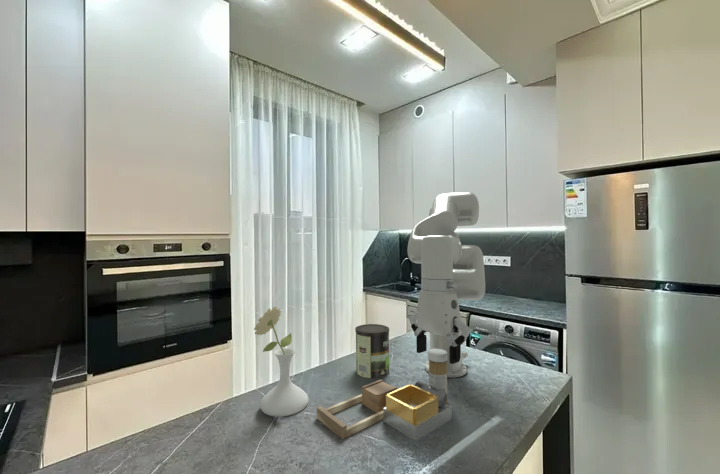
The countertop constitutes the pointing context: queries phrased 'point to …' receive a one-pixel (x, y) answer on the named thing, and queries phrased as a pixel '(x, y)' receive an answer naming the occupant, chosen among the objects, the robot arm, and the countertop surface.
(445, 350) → the robot arm
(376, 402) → the tan cardboard box
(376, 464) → the countertop surface
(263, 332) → the flower in vase
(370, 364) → the coffee can
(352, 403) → the tray
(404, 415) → the gold open box
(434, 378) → the sprinkles bottle
